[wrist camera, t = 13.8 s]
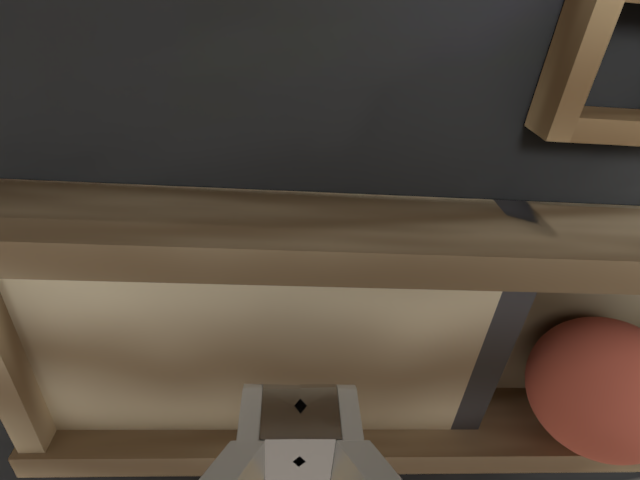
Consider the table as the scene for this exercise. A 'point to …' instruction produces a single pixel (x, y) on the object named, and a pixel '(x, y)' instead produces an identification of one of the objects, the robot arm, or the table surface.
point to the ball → (589, 387)
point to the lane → (290, 319)
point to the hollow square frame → (580, 80)
